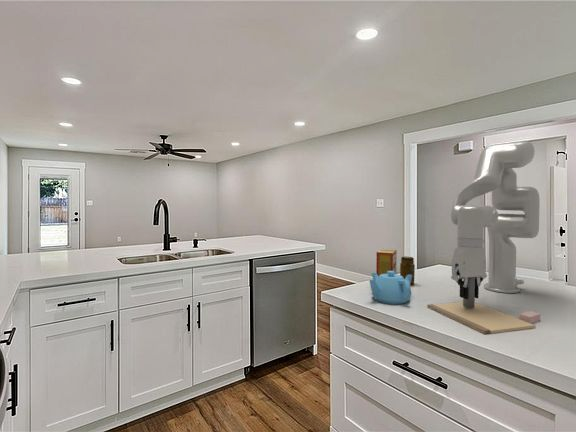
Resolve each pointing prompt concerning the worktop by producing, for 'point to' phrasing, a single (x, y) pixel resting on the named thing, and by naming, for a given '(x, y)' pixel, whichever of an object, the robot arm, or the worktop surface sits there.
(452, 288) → the worktop surface
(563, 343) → the worktop surface
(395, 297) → the teapot
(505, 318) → the notepad
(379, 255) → the baking soda box
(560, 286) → the worktop surface
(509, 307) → the worktop surface
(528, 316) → the eraser
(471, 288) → the marker
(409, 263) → the condiment
